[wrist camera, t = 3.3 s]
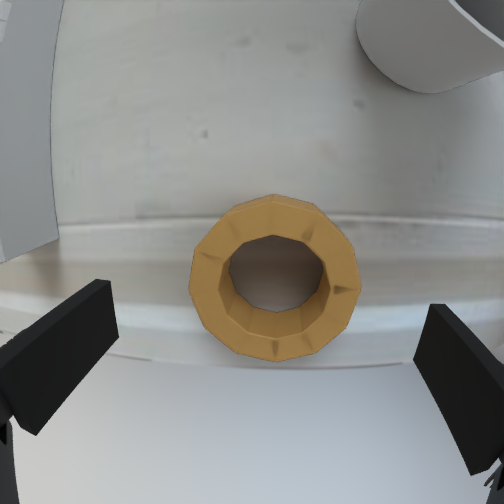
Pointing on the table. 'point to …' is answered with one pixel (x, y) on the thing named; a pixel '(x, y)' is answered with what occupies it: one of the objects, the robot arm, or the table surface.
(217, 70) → the table surface
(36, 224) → the skate ramp
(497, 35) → the cup
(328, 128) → the table surface
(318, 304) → the tape roll
